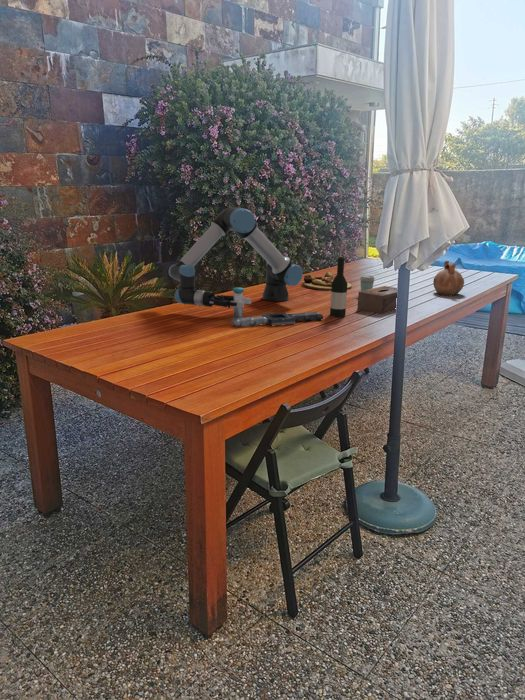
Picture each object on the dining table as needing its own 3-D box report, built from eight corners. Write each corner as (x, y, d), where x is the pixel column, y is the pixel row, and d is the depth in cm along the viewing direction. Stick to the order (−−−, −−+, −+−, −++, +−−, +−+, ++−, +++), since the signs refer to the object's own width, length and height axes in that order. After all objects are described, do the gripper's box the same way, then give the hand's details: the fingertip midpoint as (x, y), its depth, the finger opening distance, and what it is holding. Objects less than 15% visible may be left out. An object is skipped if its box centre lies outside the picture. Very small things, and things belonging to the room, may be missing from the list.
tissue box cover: (380, 314, 292) (382, 295, 289) (357, 310, 301) (358, 291, 298) (405, 307, 310) (407, 289, 307) (383, 303, 319) (384, 285, 316)
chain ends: (228, 323, 267) (229, 317, 266) (314, 315, 285) (314, 310, 284) (238, 329, 256) (238, 323, 255) (325, 321, 274) (326, 315, 273)
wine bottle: (333, 317, 282) (336, 257, 273) (326, 313, 290) (330, 255, 281) (348, 317, 284) (352, 257, 275) (341, 313, 292) (345, 255, 283)
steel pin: (230, 318, 276) (231, 287, 272) (241, 317, 278) (241, 287, 274) (234, 320, 271) (235, 289, 267) (245, 320, 273) (245, 289, 269)
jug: (466, 297, 340) (471, 264, 334) (436, 296, 340) (440, 263, 334) (457, 291, 358) (461, 259, 352) (428, 290, 358) (432, 259, 352)
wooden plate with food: (296, 289, 355) (297, 276, 352) (308, 280, 384) (308, 268, 381) (347, 294, 346) (348, 280, 344) (354, 284, 375) (355, 272, 373)
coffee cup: (373, 298, 331) (374, 278, 327) (358, 297, 332) (359, 277, 329) (373, 295, 339) (374, 275, 335) (359, 294, 340) (360, 274, 337)
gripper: (214, 301, 289) (255, 306, 281) (195, 310, 270) (238, 315, 262) (214, 287, 287) (255, 291, 279) (194, 294, 268) (238, 299, 260)
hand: (247, 303), depth 271 cm, fingers open, 8 cm apart
